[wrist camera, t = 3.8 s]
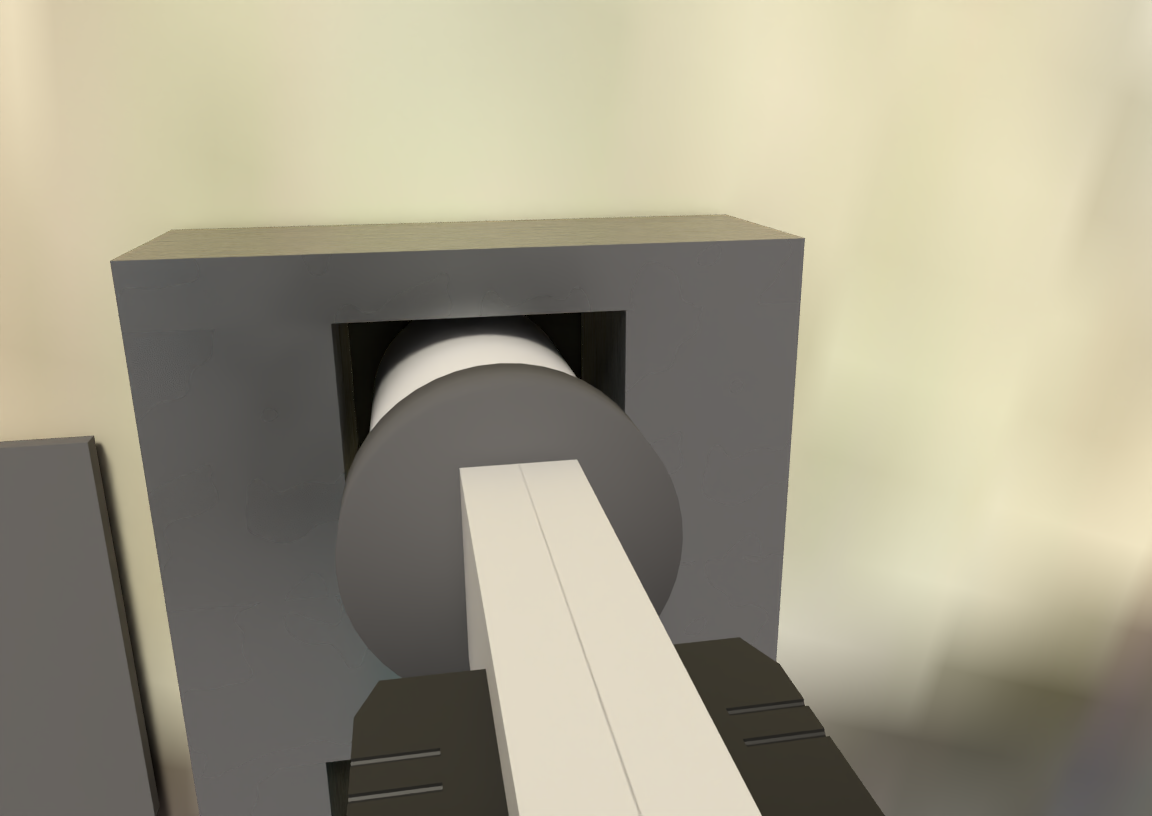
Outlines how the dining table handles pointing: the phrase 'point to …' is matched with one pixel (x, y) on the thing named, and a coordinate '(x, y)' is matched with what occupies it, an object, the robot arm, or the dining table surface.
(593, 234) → the housing
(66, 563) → the mat
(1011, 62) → the dining table surface
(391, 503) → the plunger
